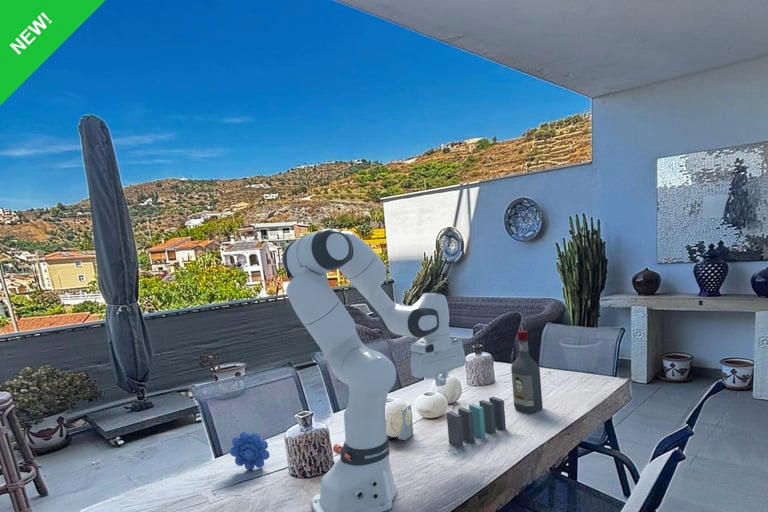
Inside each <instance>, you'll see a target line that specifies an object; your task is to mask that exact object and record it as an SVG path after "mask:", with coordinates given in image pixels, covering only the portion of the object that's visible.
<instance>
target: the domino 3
mask: <svg viewBox="0 0 768 512" xmlns="http://www.w3.org/2000/svg"><path fill="white" fill-rule="evenodd" d="M468 410H470V411H472V413H473V426H474V437H476V438H479V439H482V440H483V439H485V438H486V432H485V424H484V411H483V407H481V406H480V405H477V404H475V403H470V404H468Z"/></svg>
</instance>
